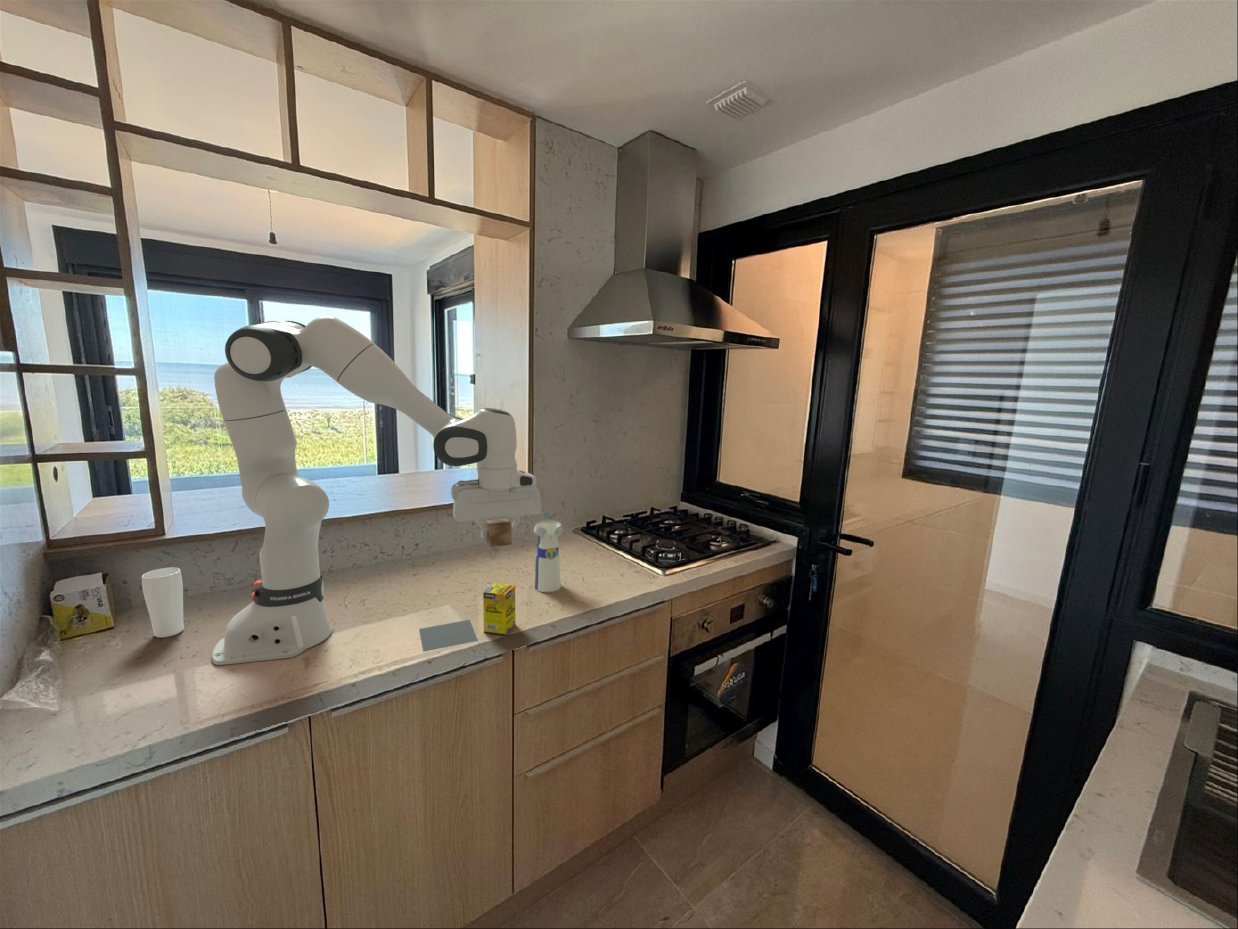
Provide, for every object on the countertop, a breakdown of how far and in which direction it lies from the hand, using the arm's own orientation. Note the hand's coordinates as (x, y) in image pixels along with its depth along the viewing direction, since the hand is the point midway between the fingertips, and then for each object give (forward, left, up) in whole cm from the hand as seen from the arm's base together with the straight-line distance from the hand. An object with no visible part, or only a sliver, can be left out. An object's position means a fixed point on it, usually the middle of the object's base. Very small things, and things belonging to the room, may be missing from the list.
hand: (498, 535), depth 118 cm
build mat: (-12, +2, -24) cm, 27 cm away
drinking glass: (-71, +29, -24) cm, 80 cm away
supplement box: (0, 0, -24) cm, 24 cm away
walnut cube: (0, 0, -2) cm, 2 cm away
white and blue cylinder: (+19, +20, -24) cm, 37 cm away
